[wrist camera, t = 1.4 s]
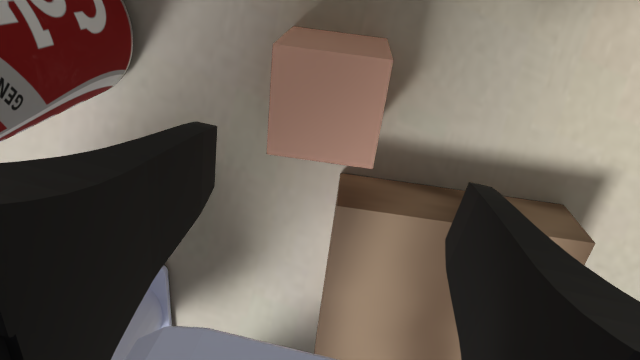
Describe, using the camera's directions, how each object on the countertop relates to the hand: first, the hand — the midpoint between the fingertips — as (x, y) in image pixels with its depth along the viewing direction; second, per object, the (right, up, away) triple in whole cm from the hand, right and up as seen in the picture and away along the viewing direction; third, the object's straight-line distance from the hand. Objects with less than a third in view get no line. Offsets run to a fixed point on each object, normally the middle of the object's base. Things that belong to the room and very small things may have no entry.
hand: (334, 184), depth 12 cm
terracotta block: (0, +5, +9) cm, 10 cm away
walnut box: (+6, -6, +13) cm, 16 cm away
